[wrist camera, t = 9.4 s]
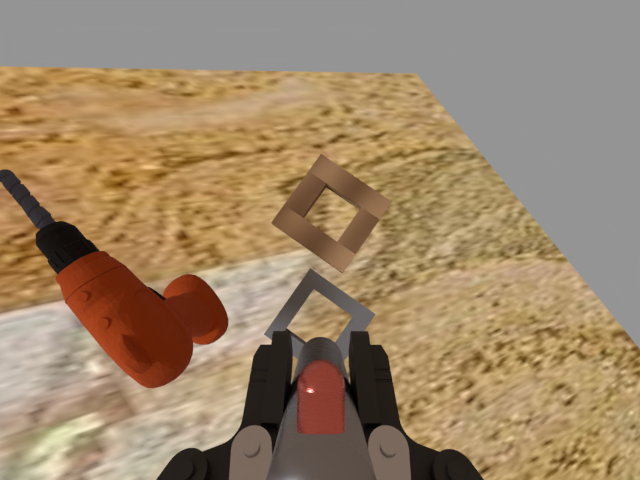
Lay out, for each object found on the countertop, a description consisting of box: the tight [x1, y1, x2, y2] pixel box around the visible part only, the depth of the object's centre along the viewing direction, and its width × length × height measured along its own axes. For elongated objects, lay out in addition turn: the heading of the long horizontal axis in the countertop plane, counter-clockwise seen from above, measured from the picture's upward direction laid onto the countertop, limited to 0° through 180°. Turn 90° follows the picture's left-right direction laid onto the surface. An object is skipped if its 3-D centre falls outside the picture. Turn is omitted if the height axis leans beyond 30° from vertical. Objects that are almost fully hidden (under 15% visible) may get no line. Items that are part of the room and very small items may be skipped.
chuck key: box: [266, 337, 377, 480], centre depth 13 cm, size 5×3×12 cm, turn 0°
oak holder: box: [271, 154, 392, 273], centre depth 34 cm, size 9×9×2 cm
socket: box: [264, 268, 375, 361], centre depth 33 cm, size 8×8×2 cm
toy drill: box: [0, 169, 228, 388], centre depth 26 cm, size 5×19×15 cm, turn 39°
